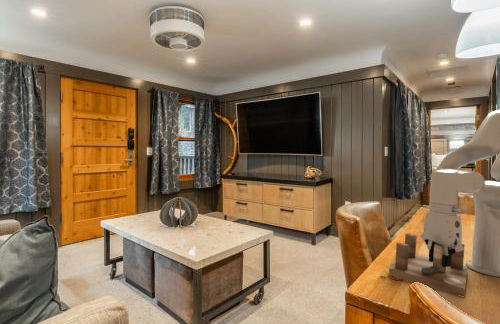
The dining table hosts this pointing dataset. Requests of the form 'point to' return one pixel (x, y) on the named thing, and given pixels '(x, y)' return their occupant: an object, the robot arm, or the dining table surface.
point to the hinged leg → (436, 261)
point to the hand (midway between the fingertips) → (439, 263)
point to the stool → (412, 264)
